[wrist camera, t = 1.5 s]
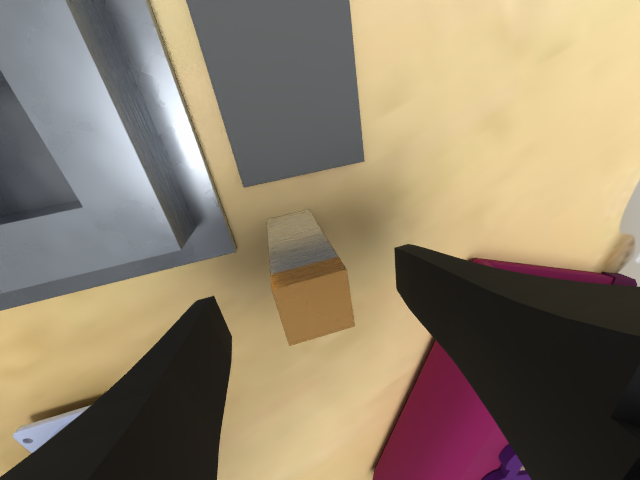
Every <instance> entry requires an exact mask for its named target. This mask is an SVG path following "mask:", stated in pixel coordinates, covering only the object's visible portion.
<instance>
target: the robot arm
mask: <svg viewBox="0 0 640 480" xmlns="http://www.w3.org/2000/svg"><path fill="white" fill-rule="evenodd" d="M395 268H396V288H397V290H398V292H399V294H400V295H401V297H402V298H403V300H404V302H405V303H406V305H407V306H408V308H409V309H410V310H411V311H412V313H413V314H414V315H415V316H416V317H417V319H418V320H419V321H420V322H421V323H422V325H423V326H424V327H425V328H426V329H427V330H428V332H429V333H430V334H431V335H432V336H433V337H434V339H435V340H436V341H437V342H438V343H439V344H440V346H441V347H442V348H443V349H444V350H445V351H446V353H447V354H448V355H449V356H450V358H451V359H452V360H453V361H454V363H455V364H456V365H457V367H458V368H459V369H460V371H461V372H462V374H463V375H464V376H465V378H466V379H467V381H468V382H469V384H470V385H471V386H472V388H473V389H474V391H475V392H476V394H477V395H478V397H479V398H480V400H481V401H482V403H483V404H484V406H485V407H486V409H487V410H488V412H489V413H490V415H491V416H492V418H493V419H494V421H495V422H496V424H497V425H498V427H499V428H500V430H501V432H502V433H503V435H504V436H505V438H506V439H507V441H508V443H509V444H510V446H511V447H512V449H513V450H514V452H515V454H516V455H517V457H518V458H519V460H520V462H521V463H522V465H523V467H524V468H525V470H526V472H527V473H528V475H529V477H530V478H531V480H640V287H636V286H623V285H610V284H598V283H588V282H579V281H571V280H563V279H556V278H548V277H542V276H535V275H530V274H524V273H519V272H514V271H508V270H504V269H499V268H495V267H491V266H486V265H482V264H478V263H474V262H471V261H467V260H463V259H460V258H456V257H453V256H450V255H446V254H443V253H440V252H436V251H433V250H430V249H426V248H423V247H419V246H415V245H410V244H407V245H403V246H399V247H396V248H395ZM231 356H232V336H231V333H230V331H229V329H228V327H227V324H226V322H225V320H224V318H223V315H222V313H221V311H220V309H219V306H218V304H217V302H216V299H215V297H214V296H212V297H208V298H204V299H201V300H197V301H196V302H195V303H194V304H193V305H192V306H191V307H190V308H189V309H188V310H187V311H186V312H185V313H184V314H183V315H182V316H181V317H180V319H179V320H178V321H177V322H176V323H175V324H174V325H173V326H172V327H171V328H170V329H169V330H168V332H167V333H166V334H165V335H164V336H163V337H162V338H161V339H160V340H159V341H158V342H157V343H156V344H155V345H154V346H153V347H152V348H151V349H150V350H149V351H148V352H147V353H146V354H145V355H144V356H143V357H142V358H141V359H140V360H139V361H138V362H137V363H136V364H135V365H134V366H133V367H132V368H131V369H130V370H129V371H128V372H127V373H126V374H125V375H124V376H123V377H122V378H121V379H120V380H119V381H118V382H117V383H116V384H115V385H113V386H112V387H111V388H110V389H109V390H108V391H107V392H106V393H105V394H103V395H102V396H101V397H100V398H99V399H98V400H97V401H95V402H94V403H93V404H92V405H90V406H86V407H83V408H80V409H77V410H73V411H70V412H67V413H64V414H60V415H57V416H54V417H50V418H47V419H44V420H41V421H37V422H34V423H31V424H27V425H24V426H21V427H19V428H18V429H17V430H16V432H15V433H14V434H13V438H14V439H15V440H16V441H17V442H19V443H20V444H21V445H22V446H24V447H25V448H26V449H27V450H29V451H30V452H31V453H32V454H30V455H29V456H28V457H27V458H25V459H24V460H23V461H21V462H20V463H19V464H17V465H16V466H15V467H13V468H12V469H11V470H9V471H8V472H7V473H5V474H4V475H3V476H1V477H0V480H217V470H218V454H219V442H220V433H221V426H222V419H223V413H224V407H225V400H226V394H227V388H228V381H229V375H230V368H231Z"/></svg>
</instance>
